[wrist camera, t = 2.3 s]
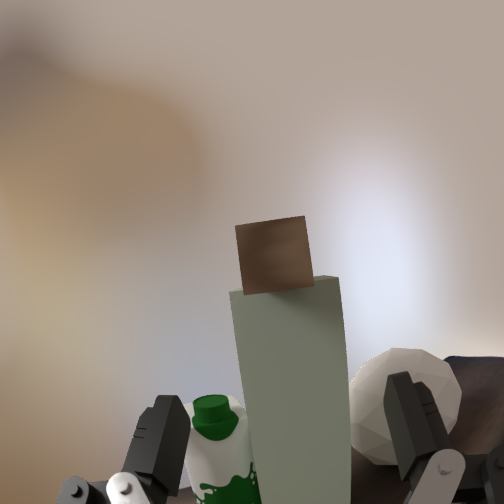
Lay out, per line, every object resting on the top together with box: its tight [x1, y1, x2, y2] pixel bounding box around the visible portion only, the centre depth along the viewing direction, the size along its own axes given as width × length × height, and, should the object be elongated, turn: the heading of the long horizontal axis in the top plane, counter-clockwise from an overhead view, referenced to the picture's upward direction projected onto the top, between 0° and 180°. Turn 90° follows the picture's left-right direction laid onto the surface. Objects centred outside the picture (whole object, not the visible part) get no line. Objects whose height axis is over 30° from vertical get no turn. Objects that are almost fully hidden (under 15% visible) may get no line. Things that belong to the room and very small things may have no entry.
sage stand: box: [229, 275, 351, 504], centre depth 31 cm, size 9×13×32 cm
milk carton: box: [183, 395, 262, 504], centre depth 33 cm, size 9×9×20 cm
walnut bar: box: [235, 216, 314, 295], centre depth 28 cm, size 4×21×4 cm, turn 172°
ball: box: [349, 348, 462, 465], centre depth 41 cm, size 19×20×20 cm
